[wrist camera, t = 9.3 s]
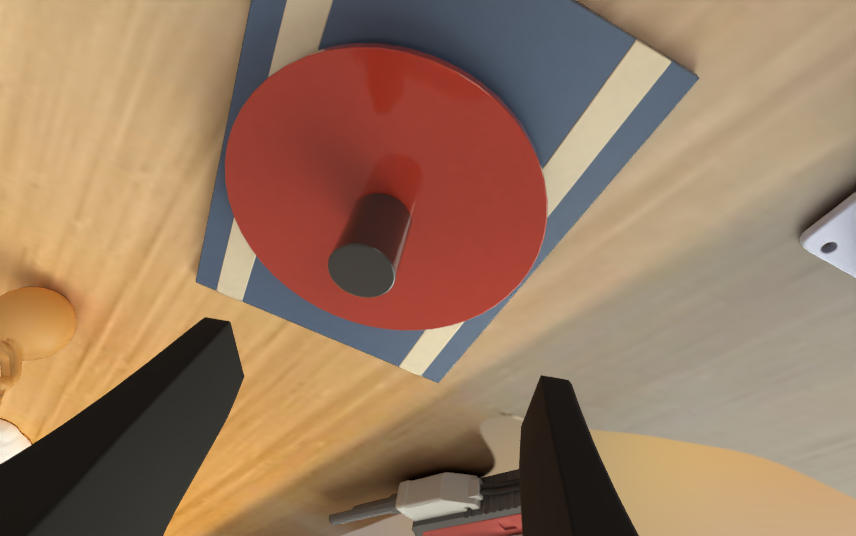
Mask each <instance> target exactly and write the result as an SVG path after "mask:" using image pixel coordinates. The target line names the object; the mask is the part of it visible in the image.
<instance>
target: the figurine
mask: <svg viewBox="0 0 856 536" xmlns="http://www.w3.org/2000/svg"><path fill="white" fill-rule="evenodd" d="M76 322H77V320H76V314H75V311H74V308H73V307H72V305H71V304H70V302H69V301H68V300H67V299H66V298H65V297H63V296H62V295H60V294H59V293H57V292H55V291H52V290H50V289H46V288H40V287H25V288H19V289H15V290H12V291H9V292H7V293H5V294H3V295H1V296H0V366H1V377H0V405H1V401H2V398H3V396H4V393H5V392H6V391H7V390H9V389H10V388H11V387H12V386H13V385H14V383H15V382H16V381H18V380H19V379H20V376H21V366H22V361H30V360H37V359H42V358H45V357H48V356H50V355H52V354H54V353H56V352H58V351H59V350H61V349H62V348H63V347H64V346H65V345H66V344H67V343H68V342H69V341H70V339H71V338H72V336H73V334H74V332H75V329H76Z"/></svg>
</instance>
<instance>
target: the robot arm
mask: <svg viewBox="0 0 856 536" xmlns="http://www.w3.org/2000/svg"><path fill="white" fill-rule="evenodd" d="M799 241H800V244H801V245H802V246H803V248H804V249H805V250H806V251H808V252H810V253H812V254H814V255H816V256H817V257H819V258H821V259H823V260H825V261H826V262H828V263H830V264H832V265H834V266H835V267H837V268H839V269H841V270H843V271H844V272H846V273H848V274H850V275H852V276H853V277H855V278H856V192H854V193H853V194H852V195H851V196H849V197H848V198H847V199H845V200H844V201H843V202H842V203H840V204H839V205H838V206H836V207H835V208H834V209H833V210H831V211H830V212H829V213H827V214H826V215H825V216H824V217H822V218H821V219H820V220H818V221H817V222H816V223H815V224H813V225H812V226H811V227H809V228H808V229H807V230H806V231H804V232H803V234H802V235H801V236H800V239H799ZM829 242H831V243H830V244H829V245H827V246H825V247H822V246H823V245H824V244H826V243H829ZM243 378H244V374H243V370H242V366H241V362H240V358H239V354H238V350H237V346H236V342H235V339H234V335H233V331H232V327H231V323H230V322H229V321H224V320H218V319H212V318H206V317H205V318H203V319H202V320H201V321H199V322H198V323H197V324H196V325H194V326H193V327H192V328H190V329H189V330H188V331H187V332H185V333H184V334H183V335H182V336H180V337H179V338H178V339H177V340H175V341H174V342H173V343H172V344H170V345H169V346H168V347H167V348H165V349H164V350H163V351H162V352H160V353H159V354H158V355H157V356H155V357H154V358H153V359H151V360H150V361H149V362H148V363H146V364H145V365H144V366H143V367H141V368H140V369H139V370H137V371H136V372H135V373H133V374H132V375H131V376H129V377H128V378H127V379H126V380H124V381H123V382H122V383H120V384H119V385H118V386H116V387H115V388H114V389H112V390H111V391H110V392H108V393H107V394H106V395H104V396H103V397H101V398H100V399H99V400H97V401H96V402H94V403H93V404H91V405H90V406H89V407H87V408H86V409H84V410H83V411H82V412H80V413H79V414H77V415H76V416H75V417H73V418H72V419H70V420H69V421H67V422H66V423H64V424H63V425H61V426H60V427H58V428H57V429H55V430H54V431H52V432H51V433H49V434H48V435H46V436H45V437H43V438H42V439H40V440H39V441H37V442H35V443H34V444H32V445H31V446H29V447H27V448H26V449H24V450H23V451H21V452H19V453H18V454H16V455H15V456H13V457H11V458H10V459H8V460H6V461H5V462H3V463H1V464H0V536H163V535H164V532H165V530H166V528H167V526H168V524H169V522H170V520H171V518H172V516H173V514H174V512H175V511H176V509H177V507H178V505H179V503H180V501H181V500H182V498H183V496H184V494H185V492H186V491H187V489H188V487H189V485H190V484H191V482H192V480H193V478H194V477H195V475H196V473H197V471H198V469H199V468H200V466H201V464H202V462H203V461H204V459H205V457H206V455H207V454H208V452H209V450H210V448H211V446H212V445H213V443H214V441H215V439H216V437H217V436H218V434H219V432H220V430H221V428H222V427H223V425H224V423H225V421H226V419H227V417H228V415H229V413H230V410H231V408H232V406H233V403H234V401H235V399H236V396H237V394H238V391H239V388H240V386H241V383H242V381H243ZM519 481H520V500H521V518H522V536H639V535H638V533H637V532H636V530H635V528H634V526H633V524H632V522H631V520H630V518H629V516H628V514H627V512H626V510H625V508H624V506H623V505H622V503H621V500H620V498H619V497H618V494H617V492H616V490H615V488H614V486H613V484H612V482H611V479H610V477H609V475H608V473H607V471H606V469H605V466H604V464H603V462H602V460H601V458H600V456H599V454H598V451H597V449H596V447H595V444H594V442H593V439H592V437H591V434H590V432H589V429H588V427H587V425H586V422H585V419H584V417H583V414H582V412H581V409H580V406H579V404H578V401H577V398H576V395H575V392H574V389H573V386H572V384H571V383H570V382H569V380H565V379H559V378H553V377H547V376H541V377H540V379H539V382H538V384H537V387H536V390H535V392H534V395H533V397H532V400H531V403H530V405H529V408H528V410H527V413H526V416H525V418H524V421H523V423H522V426H521V441H520V461H519Z"/></svg>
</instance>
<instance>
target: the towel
mask: <svg viewBox="0 0 856 536" xmlns="http://www.w3.org/2000/svg"><path fill="white" fill-rule="evenodd" d="M355 43H372V44H388V45H394V46H400V47H406V48H410V49H414V50H417V51H420V52H423V53H427V54H430V55H433V56H436V57H438V58H440V59H442V60H444V61H446V62H448V63H451V64H453V65H455V66H457V67H459V68H460V69H462V70H464V71H465V72H467V73H468V74H470V75H471V76H473V77H474V78H476V79H478V80H479V81H480V82H482V83H483V84H484V85H485V86H486V87H488V88H489V89H490V90H491V91H492V92H493V93H495V94H496V95H497V96H498V97H499V98H500V99H501V100H502V101H503V102H504V103H505V104H506V106H507V107H508V108H509V109H510V110H511V111H512V112H513V113H514V114H515V116H516V117H517V119H518V120H519V122H520V123H521V125H522V126H523V128H524V129H525V131H526V132H527V134H528V135H529V137H530V139H531V141H532V143H533V146H534V148H535V150H536V152H537V154H538V157H539V160H540V163H541V166H542V170H543V173H544V177H545V184H546V191H547V199H548V213H547V225H546V231H545V237H544V240H543V243H542V246H541V249H540V252H539V255H538V257H537V259H536V260H535V262H534V264H533V266H532V268H531V270H530V271H529V273H528V274H527V275H526V277H525V278H524V280H523V281H522V282H521V284H520V285H519V286H518V287H517V288H516V289H515V290H514V291H513V292H512V293H511V294H510V295H509V296H508V297H506V298H505V299H504V300H502V301H501V302H500V303H499V304H497V305H496V306H494V307H493V308H491V309H489V310H488V311H486V312H484V313H483V314H481V315H478V316H476V317H474V318H472V319H469V320H467V321H464V322H461V323H458V324H454V325H451V326H446V327H441V328H436V329H428V330H390V329H382V328H376V327H371V326H366V325H362V324H359V323H355V322H351V321H348V320H346V319H343V318H340V317H338V316H335V315H333V314H331V313H328V312H326V311H324V310H322V309H320V308H318V307H316V306H315V305H313V304H311V303H309V302H308V301H306V300H304V299H303V298H301V297H300V296H298V295H297V294H296V293H294V292H293V291H292V290H290V289H289V288H287V287H286V286H285V285H284V284H283V283H282V282H281V281H279V280H278V279H277V278H276V277H275V276H274V275H273V274H272V273H271V272H270V271H269V270H268V269H267V268H266V267H265V266H264V265H263V264H262V262H261V261H260V260H259V258H258V257H257V256H256V255H255V253H254V252H253V251H252V249H251V248H250V246H249V245H248V243H247V241H246V240H245V238H244V236H243V235H242V233H241V231H240V229H239V227H238V224H237V222H236V220H235V218H234V215H233V212H232V209H231V206H230V203H229V200H228V194H227V188H226V183H225V157H226V148H227V143H228V139H229V136H230V132H231V129H232V126H233V124H234V122H235V120H236V118H237V115H238V113H239V111H240V109H241V108H242V106H243V105H244V104H245V102H246V101H247V99H248V98H249V97H250V95H251V94H252V93H253V92H254V91H255V90H256V89H257V88H258V87H259V86H260V85H261V84H262V83H263V82H264V81H265V80H266V79H267V78H268V77H269V76H271V75H272V74H273V73H275V72H276V71H278V70H279V69H281V68H282V67H283V66H285V65H286V64H288V63H289V62H291V61H293V60H296V59H298V58H300V57H302V56H304V55H306V54H308V53H311V52H314V51H318V50H321V49H325V48H329V47H332V46H339V45H347V44H355ZM698 79H699V77H698V76H697V75H696V74H695V73H693V72H692V71H690V70H689V69H687V68H685V67H684V66H682V65H680V64H679V63H677V62H675V61H674V60H672V59H670V58H669V57H667V56H665V55H664V54H662V53H661V52H659V51H657V50H656V49H654V48H652V47H651V46H649V45H647V44H646V43H644V42H642V41H641V40H639V39H637V38H636V37H634V36H632V35H631V34H629V33H628V32H626V31H624V30H623V29H621V28H619V27H618V26H616V25H614V24H613V23H611V22H609V21H608V20H606V19H604V18H603V17H601V16H600V15H598V14H596V13H595V12H593V11H591V10H590V9H588V8H586V7H585V6H583V5H581V4H580V3H578V2H576V1H575V0H251V4H250V9H249V14H248V19H247V25H246V30H245V35H244V40H243V45H242V50H241V55H240V60H239V65H238V70H237V75H236V80H235V85H234V90H233V95H232V100H231V106H230V111H229V116H228V121H227V126H226V131H225V136H224V141H223V146H222V151H221V156H220V161H219V166H218V171H217V176H216V181H215V186H214V192H213V197H212V202H211V207H210V212H209V217H208V222H207V227H206V232H205V237H204V242H203V247H202V252H201V257H200V262H199V267H198V273H197V278H196V282H197V283H199V284H202V285H204V286H206V287H209V288H211V289H214V290H216V291H217V292H219V293H222V294H224V295H227V296H229V297H231V298H234V299H236V300H239V301H241V302H245V303H247V304H250V305H252V306H254V307H257V308H259V309H262V310H264V311H266V312H269V313H271V314H274V315H276V316H278V317H281V318H283V319H286V320H288V321H290V322H293V323H295V324H298V325H300V326H302V327H305V328H307V329H310V330H312V331H314V332H317V333H319V334H322V335H324V336H326V337H329V338H331V339H334V340H336V341H338V342H341V343H343V344H346V345H348V346H350V347H353V348H355V349H358V350H360V351H362V352H365V353H367V354H370V355H372V356H374V357H377V358H379V359H382V360H384V361H386V362H389V363H391V364H394V365H396V366H398V367H399V368H402V369H404V370H407V371H409V372H411V373H414V374H416V375H419V376H422V377H425V378H427V379H430V380H432V381H434V382H437V383H439V382H440V381H441V379H442V378H443V377H444V376H445V375H446V374H447V372H448V371H449V370H450V369H451V368H452V367H453V365H454V364H455V363H456V362H457V361H458V360H459V358H460V357H461V356H462V355H463V354H464V353H465V351H466V350H467V349H468V348H469V347H470V346H471V344H472V343H473V342H474V341H475V340H476V339H477V337H478V336H479V335H480V334H481V333H482V332H483V330H484V329H485V328H486V327H487V326H488V325H489V323H490V322H491V321H492V320H493V319H494V318H495V316H496V315H497V314H498V313H499V312H500V311H501V309H502V308H503V307H504V306H505V305H506V304H507V302H508V301H509V300H510V299H511V298H512V297H513V295H514V294H515V293H516V292H517V291H518V289H519V288H520V287H521V286H522V285H523V284H524V282H525V281H526V280H527V279H528V278H529V277H530V275H531V274H532V273H533V272H534V271H535V270H536V268H537V267H538V266H539V265H540V264H541V263H542V261H543V260H544V259H545V258H546V257H547V256H548V254H549V253H550V252H551V251H552V250H553V249H554V247H555V246H556V245H557V244H558V243H559V242H560V240H561V239H562V238H563V237H564V236H565V235H566V233H567V232H568V231H569V230H570V229H571V228H572V226H573V225H574V224H575V223H576V222H577V221H578V219H579V218H580V217H581V216H582V215H583V214H584V212H585V211H586V210H587V209H588V208H589V207H590V205H591V204H592V203H593V202H594V201H595V200H596V198H597V197H598V196H599V195H600V194H601V192H602V191H603V190H604V189H605V188H606V187H607V185H608V184H609V183H610V182H611V181H612V180H613V178H614V177H615V176H616V175H617V174H618V173H619V171H620V170H621V169H622V168H623V167H624V166H625V164H626V163H627V162H628V161H629V160H630V159H631V157H632V156H633V155H634V154H635V153H636V152H637V150H638V149H639V148H640V147H641V146H642V145H643V143H644V142H645V141H646V140H647V139H648V138H649V136H650V135H651V134H652V133H653V132H654V131H655V129H656V128H657V127H658V126H659V125H660V124H661V122H662V121H663V120H664V119H665V118H666V117H667V115H668V114H669V113H670V112H671V111H672V110H673V108H674V107H675V106H676V105H677V104H678V103H679V101H680V100H681V99H682V98H683V97H684V95H685V94H686V93H687V92H688V91H689V90H690V88H691V87H692V86H693V85H694V84H695V83H696V81H697V80H698Z"/></svg>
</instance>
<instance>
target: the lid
mask: <svg viewBox="0 0 856 536" xmlns="http://www.w3.org/2000/svg"><path fill="white" fill-rule="evenodd" d="M225 183H226V188H227V194H228V200H229V203H230V206H231V209H232V212H233V215H234V218H235V220H236V222H237V224H238V227H239V229H240V231H241V233H242V235H243V236H244V238H245V240H246V241H247V243H248V245H249V246H250V248H251V249H252V251H253V252H254V253H255V255H256V256H257V257H258V258H259V260H260V261H261V262H262V264H263V265H264V266H265V267H266V268H267V269H268V270H269V271H270V272H271V273H272V274H273V275H274V276H275V277H276V278H277V279H278V280H279V281H281V282H282V283H283V284H284V285H285V286H286V287H287V288H289V289H290V290H292V291H293V292H294V293H296V294H297V295H298V296H300V297H301V298H303V299H304V300H306V301H308V302H309V303H311V304H313V305H315V306H316V307H318V308H320V309H322V310H324V311H326V312H328V313H331V314H333V315H335V316H338V317H340V318H343V319H346V320H348V321H351V322H355V323H359V324H362V325H366V326H371V327H376V328H382V329H390V330H428V329H436V328H441V327H446V326H451V325H454V324H458V323H461V322H464V321H467V320H469V319H472V318H474V317H476V316H478V315H481V314H483V313H484V312H486V311H488V310H489V309H491V308H493V307H494V306H496V305H497V304H499V303H500V302H501V301H502V300H504V299H505V298H506V297H508V296H509V295H510V294H511V293H512V292H513V291H514V290H515V289H516V288H517V287H518V286H519V285H520V284H521V282H522V281H523V280H524V278H525V277H526V275H527V274H528V273H529V271H530V270H531V268H532V266H533V264H534V262H535V260H536V259H537V257H538V255H539V252H540V249H541V246H542V243H543V240H544V237H545V231H546V225H547V213H548V199H547V191H546V184H545V177H544V173H543V170H542V166H541V163H540V160H539V157H538V154H537V152H536V150H535V148H534V146H533V143H532V141H531V139H530V137H529V135H528V134H527V132H526V131H525V129H524V128H523V126H522V125H521V123H520V122H519V120H518V119H517V117H516V116H515V114H514V113H513V112H512V111H511V110H510V109H509V108H508V107H507V106H506V104H505V103H504V102H503V101H502V100H501V99H500V98H499V97H498V96H497V95H496V94H495V93H493V92H492V91H491V90H490V89H489V88H488V87H486V86H485V85H484V84H483V83H482V82H480V81H479V80H478V79H476V78H474V77H473V76H471V75H470V74H468V73H467V72H465V71H464V70H462V69H460V68H459V67H457V66H455V65H453V64H451V63H448V62H446V61H444V60H442V59H440V58H438V57H436V56H433V55H430V54H427V53H423V52H420V51H417V50H414V49H410V48H406V47H400V46H394V45H388V44H372V43H355V44H347V45H339V46H332V47H329V48H325V49H321V50H318V51H314V52H311V53H308V54H306V55H304V56H302V57H300V58H298V59H296V60H293V61H291V62H289V63H288V64H286V65H285V66H283V67H282V68H281V69H279V70H278V71H276V72H275V73H273V74H272V75H271V76H269V77H268V78H267V79H266V80H265V81H264V82H263V83H262V84H261V85H260V86H259V87H258V88H257V89H256V90H255V91H254V92H253V93H252V94H251V95H250V97H249V98H248V99H247V101H246V102H245V104H244V105H243V106H242V108H241V109H240V111H239V113H238V115H237V118H236V120H235V122H234V124H233V126H232V129H231V132H230V136H229V139H228V143H227V148H226V157H225Z"/></svg>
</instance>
